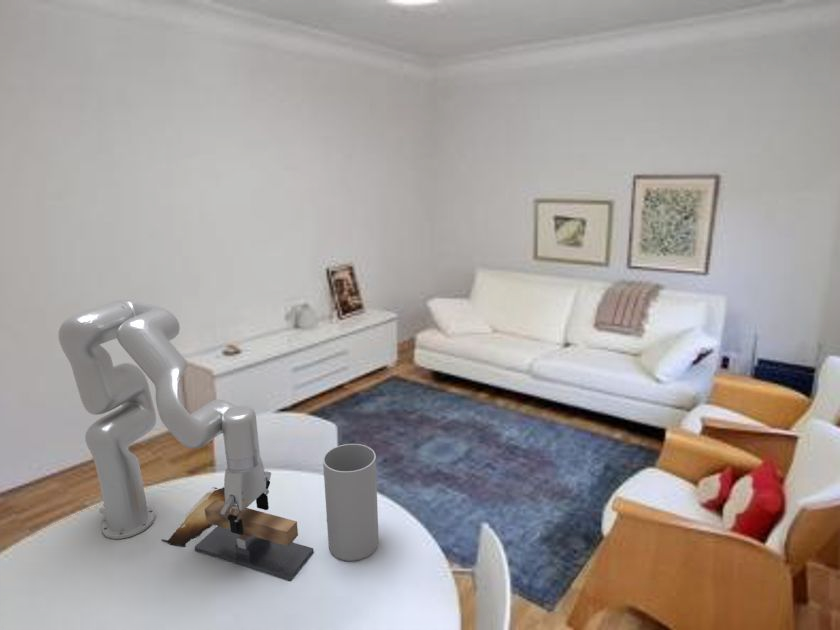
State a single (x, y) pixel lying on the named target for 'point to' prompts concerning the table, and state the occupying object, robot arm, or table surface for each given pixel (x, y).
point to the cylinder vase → (351, 501)
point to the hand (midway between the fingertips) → (250, 520)
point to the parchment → (195, 519)
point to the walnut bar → (256, 523)
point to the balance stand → (255, 552)
